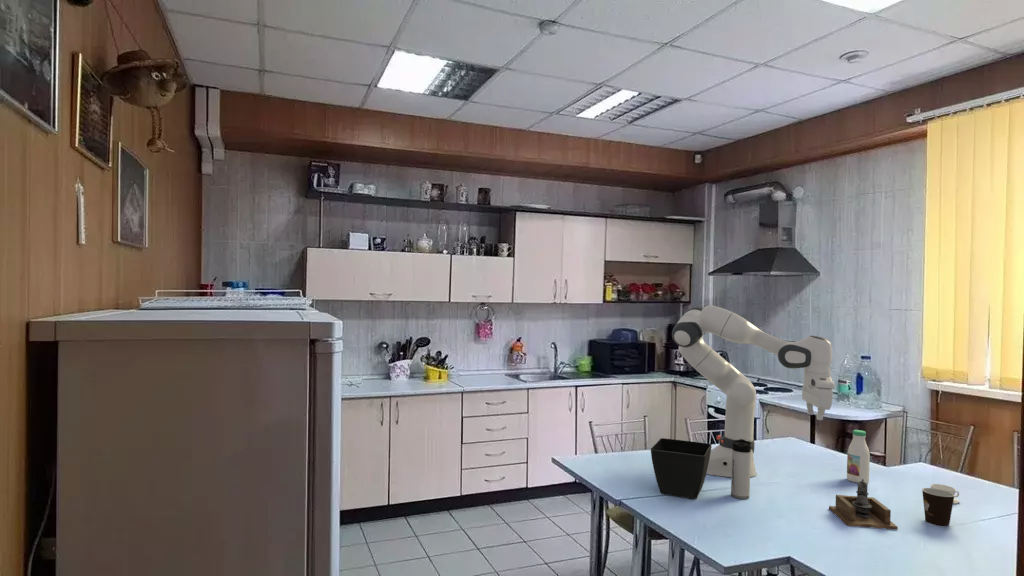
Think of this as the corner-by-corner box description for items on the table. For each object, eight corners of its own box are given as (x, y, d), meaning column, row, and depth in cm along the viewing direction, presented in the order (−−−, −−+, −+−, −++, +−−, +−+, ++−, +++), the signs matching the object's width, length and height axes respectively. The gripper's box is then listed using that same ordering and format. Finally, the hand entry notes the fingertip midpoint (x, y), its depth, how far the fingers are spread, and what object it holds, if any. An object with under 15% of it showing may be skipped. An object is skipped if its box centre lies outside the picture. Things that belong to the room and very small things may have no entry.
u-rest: (846, 525, 191) (847, 508, 191) (829, 508, 206) (829, 492, 206) (897, 529, 189) (898, 512, 189) (875, 512, 204) (876, 496, 204)
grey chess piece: (869, 513, 200) (871, 477, 200) (873, 519, 195) (874, 482, 195) (850, 510, 202) (851, 475, 202) (853, 516, 197) (854, 480, 197)
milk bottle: (863, 478, 243) (864, 429, 243) (872, 484, 235) (874, 433, 235) (843, 477, 244) (844, 428, 244) (852, 483, 236) (853, 432, 236)
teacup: (931, 502, 217) (932, 489, 217) (922, 493, 226) (922, 481, 226) (964, 506, 214) (964, 493, 214) (953, 497, 223) (953, 484, 223)
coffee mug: (954, 530, 191) (955, 498, 191) (921, 523, 195) (922, 493, 195) (951, 518, 200) (952, 489, 200) (920, 513, 205) (921, 483, 205)
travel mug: (749, 495, 218) (751, 440, 218) (748, 500, 212) (750, 444, 212) (731, 492, 221) (733, 438, 221) (730, 497, 215) (731, 441, 215)
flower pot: (648, 495, 215) (650, 448, 215) (659, 480, 232) (660, 437, 232) (703, 504, 207) (705, 455, 207) (710, 489, 224) (712, 443, 224)
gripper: (798, 375, 233) (796, 410, 233) (817, 383, 213) (815, 422, 213) (815, 376, 232) (813, 412, 233) (836, 384, 212) (834, 423, 212)
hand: (814, 417), depth 223 cm, fingers open, 8 cm apart
